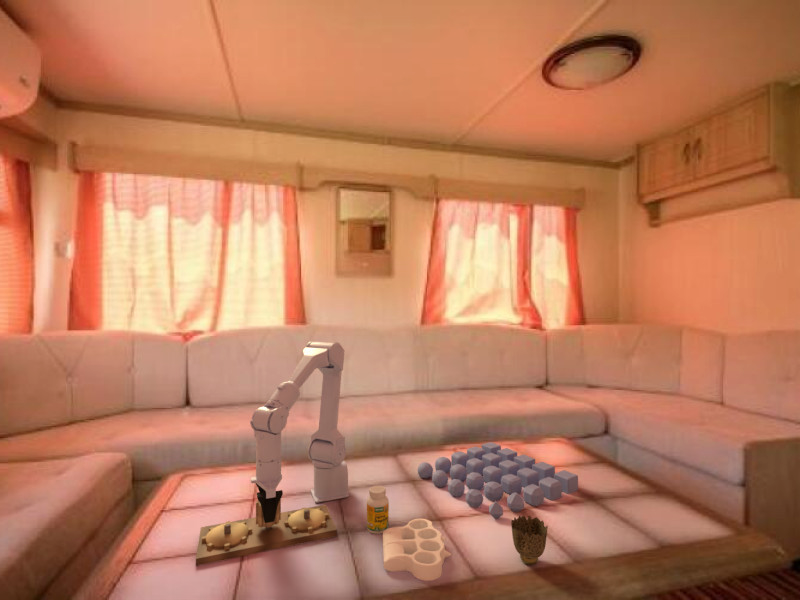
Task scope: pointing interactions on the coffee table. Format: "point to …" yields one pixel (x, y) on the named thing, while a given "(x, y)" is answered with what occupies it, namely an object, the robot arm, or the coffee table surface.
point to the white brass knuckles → (415, 549)
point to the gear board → (263, 534)
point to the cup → (529, 538)
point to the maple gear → (261, 520)
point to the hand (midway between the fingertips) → (268, 515)
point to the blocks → (499, 477)
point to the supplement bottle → (377, 510)
